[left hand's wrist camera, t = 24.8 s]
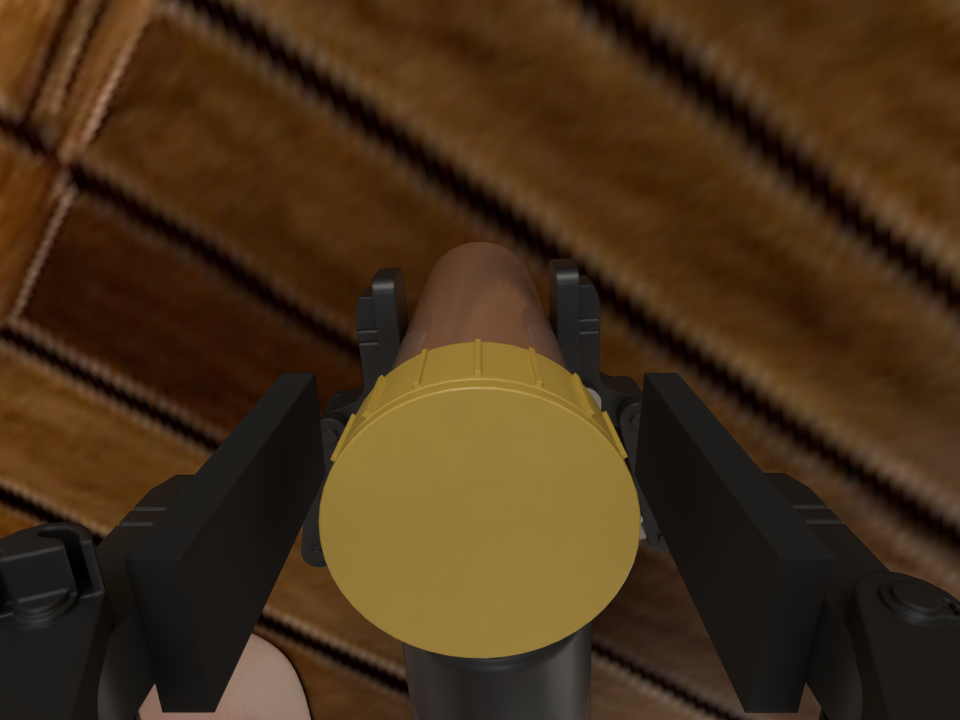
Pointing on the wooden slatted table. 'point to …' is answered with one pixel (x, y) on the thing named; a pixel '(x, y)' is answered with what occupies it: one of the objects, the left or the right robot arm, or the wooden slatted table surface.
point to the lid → (479, 503)
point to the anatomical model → (249, 690)
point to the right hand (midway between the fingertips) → (474, 270)
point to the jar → (479, 305)
